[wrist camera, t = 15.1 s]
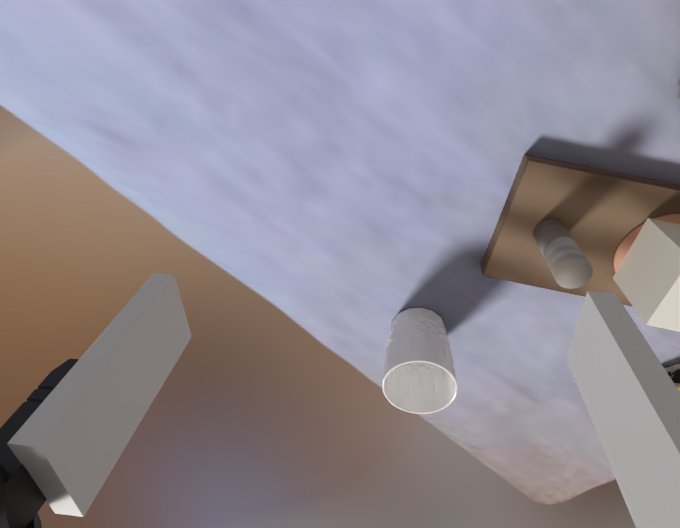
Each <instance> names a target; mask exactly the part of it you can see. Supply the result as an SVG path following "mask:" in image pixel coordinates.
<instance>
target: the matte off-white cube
mask: <svg viewBox="0 0 680 528" xmlns="http://www.w3.org/2000/svg"><path fill="white" fill-rule="evenodd" d="M613 279H614V281H615V282H616V283H617V285H618V286H619V288H620V289H621V290H622V292H623V293H624V295H625V296H626V297H627V299H628V300H629V302H630V303H631V304H632V306H633V307H634V309H635V310H636V312H637V313H638V314H639V316H640V317H641V319H642V320H643V321H644V323H645V324H646V325H650V326H654V327H659V328H664V329H669V330H674V331H679V332H680V224H676V223H671V222H666V221H661V220H656V219H651V218H647V220H646V222H645V224H644V225H643V227H642V229H641V230H640V232H639V234H638V235H637V237H636V239H635V241H634V242H633V244H632V246H631V247H630V249H629V251H628V252H627V254H626V256H625V258H624V259H623V261H622V263H621V264H620V266H619V268H618V269H617V271H616V273H615V275H614V276H613Z"/></svg>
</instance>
